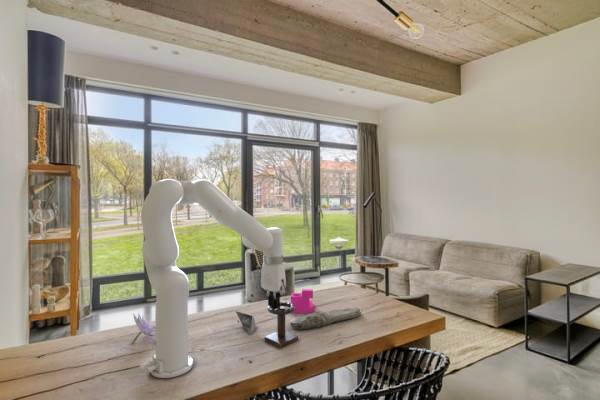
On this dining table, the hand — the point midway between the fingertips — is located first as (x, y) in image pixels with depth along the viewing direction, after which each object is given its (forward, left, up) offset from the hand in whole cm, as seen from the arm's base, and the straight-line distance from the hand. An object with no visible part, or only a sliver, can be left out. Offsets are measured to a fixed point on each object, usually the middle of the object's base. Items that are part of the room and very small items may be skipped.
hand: (274, 307), depth 124 cm
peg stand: (0, -4, -12) cm, 12 cm away
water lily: (-35, +33, -12) cm, 49 cm away
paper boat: (-3, +15, -12) cm, 19 cm away
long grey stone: (+26, -5, -12) cm, 29 cm away
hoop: (0, -4, +1) cm, 4 cm away
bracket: (+30, +14, -12) cm, 35 cm away
